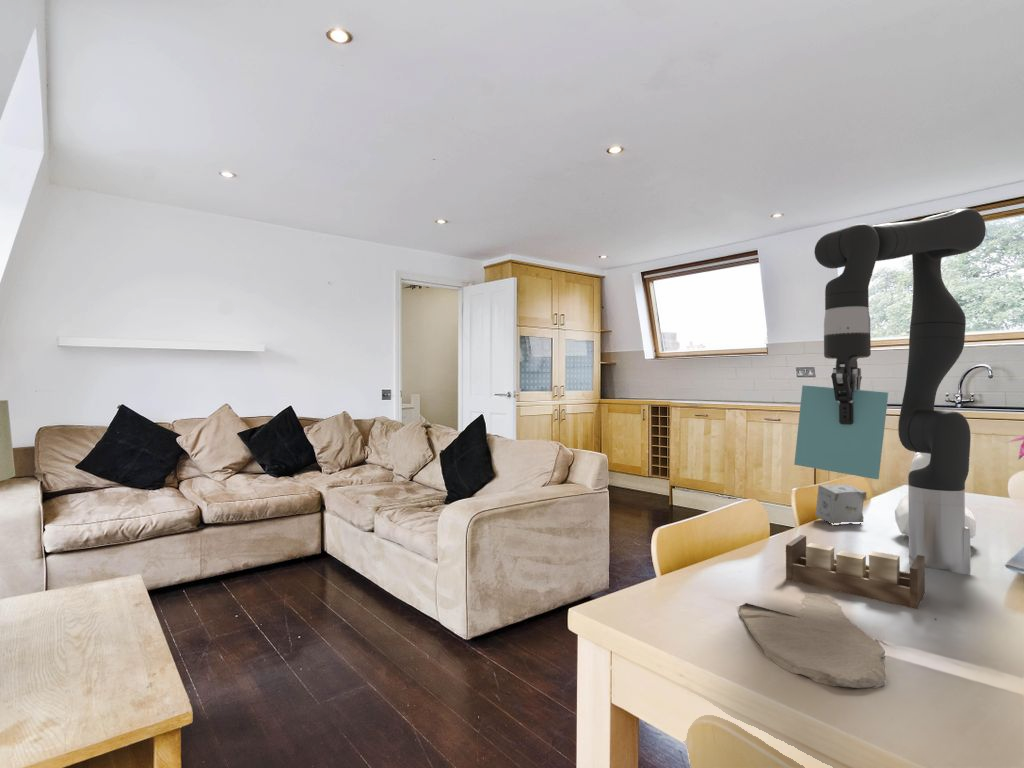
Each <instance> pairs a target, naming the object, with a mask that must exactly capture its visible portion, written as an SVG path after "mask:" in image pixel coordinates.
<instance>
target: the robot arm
mask: <svg viewBox="0 0 1024 768" xmlns="http://www.w3.org/2000/svg"><path fill="white" fill-rule="evenodd" d="M986 231H987V230H986V223H985V219H984V217H983V215H982V214H980V212H978V211H977V210H975V209H972V208H957V209H953V210H950V211H946V212H942V213H939V214H936V215H935V214H934V215H931V216H927V217H925V218H922V219H920V220H912V221H911V220H910V221H901V222H889V223H882V224H874V225H870V224H868V223H857V224H854V225H850V226H848V227H845V228H841V229H838V230H835V231H834V230H833V231H831V232H829V233H826V234H824V235H823V236H822V237H820V238H819V239H818V240H817V242H816V244H815V246H814V251H813V252H814V257H815V260H816V261H817V263H818V264H820V265H821V266H822V267H825V268H827V269H838V268H839V269H840V268H843V271H842V272H841V274H840V275H838V276H837V277H835V278H833V279H831V280H829V281H828V282H827V283H826V285H825V289H824V290H825V291H824V294H825V295H824V303H825V304H824V308H825V309H824V310H825V311H824V318H823V319H824V320H823V356H824V358H825V359H828V360H829V359H832V360H834V359H835V361H836V362H835V367H833V368H832V373H831V376H830V377H831V381H832V388H834V394H835V400H836V401H837V402H838V404H841V405H839V423H840V424H848V425H850V424H853V405H851V404H854V392H855V391H856V390H861V384H862V383H861V381H862V378H863V377H862V368H861V367H859V366H858V359H865V358H870V356H871V352H872V351H871V349H872V347H871V345H872V344H871V343H872V341H871V339H872V338H871V315H870V308H869V307H870V306H869V305H870V304H869V303H870V302H869V286H870V282H871V279H872V276H873V273H874V268H875V266H876V262H881V261H889V260H894V259H899V258H903V257H908V256H911V259H912V282H913V283H912V284H913V285H912V305H911V306H912V307H911V314H910V315H911V317H910V325H909V337H908V338H909V339H908V341H909V343H908V359H907V369H906V380H905V387H904V393H903V398H902V403H901V408H900V411H899V419H898V428H897V431H898V438H899V441H900V444H901V445H902V446H903V447H904V448H905V449H906V450H908V451H909V452H913V453H914V452H915V453H918V452H920V453H928V454H931V457H930V463H929V464H928V465H927V466H926V467H924V468H922V469H917V470H913V471H911V472H910V471H909V472H908V475H907V476H908V480H907V481H908V485H907V487H908V490H907V491H908V498H909V536H908V565H912V564H913V562H914V560H915V559H916V557H917V555H921V556H925V568H929V569H934V570H935V569H936V570H939V571H941V570H942V571H946V572H951V573H952V572H953V573H957V574H963V575H968V576H971V573H972V572H971V568H972V567H971V566H972V565H971V538H970V529H969V528H967V527H965V506H966V498H965V497H966V495H965V494H966V493H965V491H966V490H965V489H966V481H967V478H968V475H969V472H970V455H971V453H970V452H971V438H972V436H971V427H970V425H969V421H968V420H967V418H966V416H964V414H962V413H960V412H958V411H954V410H944V409H943V410H939V409H936V410H935V403H936V402H935V401H936V395H937V391H938V389H939V386H940V384H941V383H942V381H943V380H944V378H945V376H947V374H948V372H950V370H951V369H952V368H953V366H954V365H955V364H956V362H957V361H958V360H959V358H960V356H961V355H962V352H963V349H964V346H965V340H966V339H965V338H966V325H967V324H966V319H967V318H966V315H965V312H964V310H963V309H962V306H961V305H960V303H959V302H958V301H957V300H956V298H955V297H954V296H953V294H951V292H950V291H949V290H948V288H947V286H946V285H945V283H944V280H943V277H942V259H943V258H947V257H951V256H957V255H962V254H966V253H969V252H972V251H973V250H975V249H977V248H978V247H979V246H981V244H982V243H983V241H984V239H985V237H986ZM842 392H846V393H847V394H842Z"/></svg>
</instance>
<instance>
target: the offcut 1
mask: <svg viewBox="0 0 1024 768" xmlns="http://www.w3.org/2000/svg"><path fill="white" fill-rule="evenodd" d="M834 559H835V547H834V546H830V545H825V544H818V543H813V542H810V543H808V544H806V566H809V567H814V568H819V569H824V570H828V571H833V572H834Z"/></svg>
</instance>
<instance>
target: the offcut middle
mask: <svg viewBox="0 0 1024 768" xmlns="http://www.w3.org/2000/svg"><path fill="white" fill-rule="evenodd" d="M866 558H867V556H866V555H865V554H861V553H860V554H859V553H855V552H854V553H853V552H849V551H848V552H847V551H844V550H843V551H842V550H839V551H838V552H837V553H836V558H835V559H836V572H838V573H843V574H848V575H853V576H857V577H862V578H866V565H867V563H866V560H867V559H866Z"/></svg>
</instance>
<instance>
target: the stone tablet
mask: <svg viewBox="0 0 1024 768" xmlns="http://www.w3.org/2000/svg"><path fill="white" fill-rule="evenodd" d="M800 602H801V603H800V605H802V606H804V607H803V608H798V610H800V611H801V612H802V617H800V616H796V615H792V614H789V613H788V614H787V613H785V612H780V611H777V610H773V609H769V608H765V607H763V606H758V605H755V604H751V603H748V602H747V603H743V604H742V605H740V606H739V608H738V610H737V611H738V614H739V616H740V619H741V620H742V621H744V624H745V626H746V627H747V629H748V630H749V633H750V634H751V636H752V637H753V639H754V640H755V641H756V642H757V643H758V645H759V646H760V647H761V648H762V650H763V653H764V655H765V657H766V658H768V659H770V660H772V662H773V664H775V665H778V667H780V668H781V669H783V670H786V671H788V672H791V673H792V674H795V675H799V676H800V675H801V676H804V677H807V679H808V678H809V679H811V680H812V681H813V682H817V683H820V684H825V685H829V686H833V687H844V688H857V689H862V688H864V689H867V688H874V689H879V688H881V687H884V686H885V685H886V671H885V665H884V662H885V660H886V655H885V654H886V650H885V648H884V647H883V645H882V644H880V643H879V642H878V641H877V640H876V639H875V638H873V637H872V636H870V635H868V634H866V632H864V631H863V630H862V629H861V628H860V627H859V626H857V625H856V624H855V623H853V622H852V621H851V620H850V619H849V618H848V617H846V615H845V614H844V611H843V608H842V605H839V604H838V602H837V601H835V600H833V599H831V597H828V596H827V595H824V594H821V593H816V592H815V593H814V592H813V593H806V594H804V597H802V598H801V599H800Z"/></svg>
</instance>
